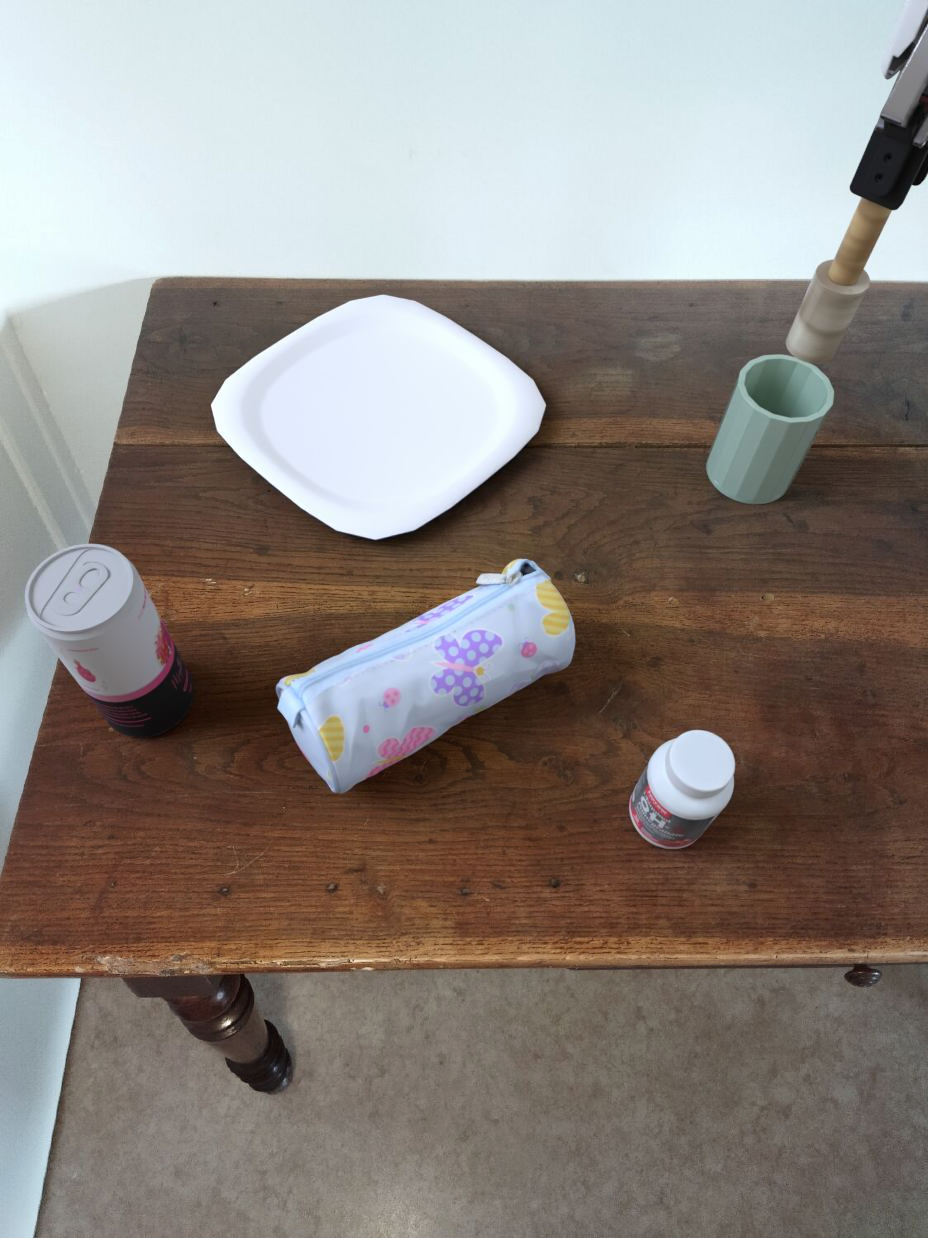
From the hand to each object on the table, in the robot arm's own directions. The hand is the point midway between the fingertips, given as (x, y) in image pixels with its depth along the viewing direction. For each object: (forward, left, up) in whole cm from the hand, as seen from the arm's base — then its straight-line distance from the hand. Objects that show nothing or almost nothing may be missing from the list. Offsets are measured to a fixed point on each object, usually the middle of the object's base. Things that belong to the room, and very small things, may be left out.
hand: (886, 184), depth 53 cm
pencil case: (+8, +34, -28) cm, 45 cm away
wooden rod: (0, 0, -13) cm, 13 cm away
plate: (+30, +15, -28) cm, 43 cm away
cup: (+1, -1, -28) cm, 28 cm away
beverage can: (+24, +47, -28) cm, 59 cm away
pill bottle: (-10, +30, -28) cm, 42 cm away
